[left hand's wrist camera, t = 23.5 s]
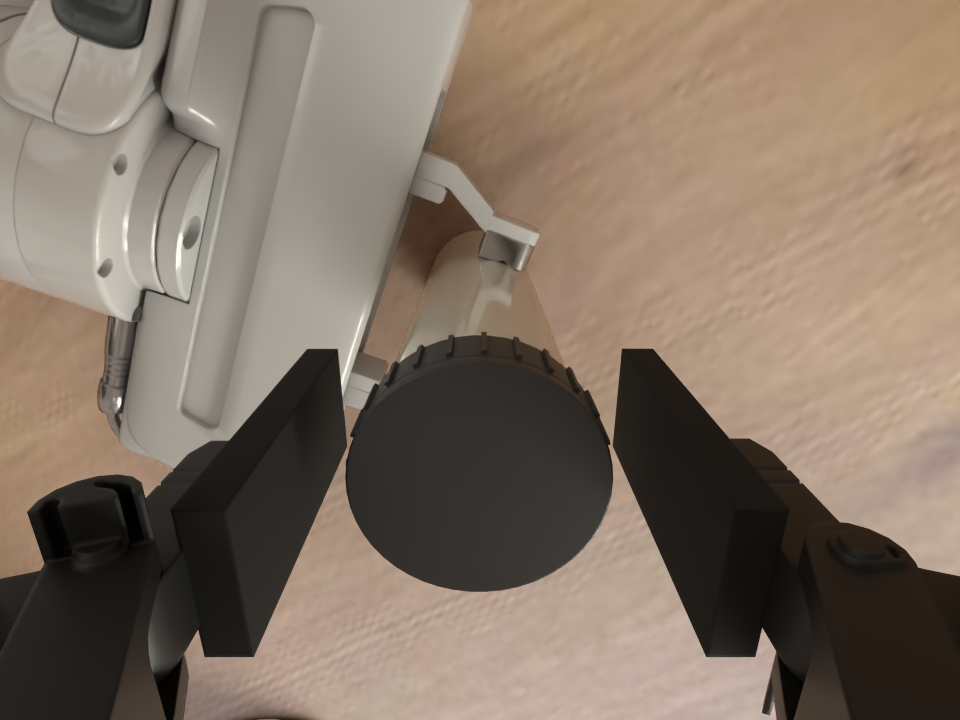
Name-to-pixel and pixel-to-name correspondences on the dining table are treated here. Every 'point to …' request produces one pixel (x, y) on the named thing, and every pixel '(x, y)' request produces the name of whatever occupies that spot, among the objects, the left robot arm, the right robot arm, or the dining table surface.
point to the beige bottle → (477, 301)
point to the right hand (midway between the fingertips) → (501, 322)
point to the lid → (479, 464)
